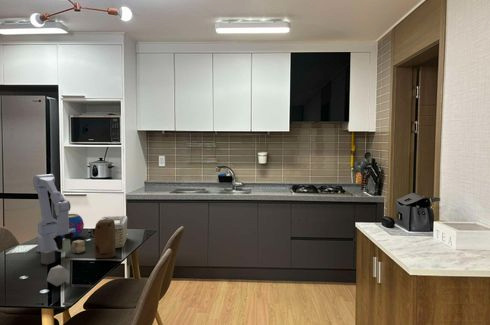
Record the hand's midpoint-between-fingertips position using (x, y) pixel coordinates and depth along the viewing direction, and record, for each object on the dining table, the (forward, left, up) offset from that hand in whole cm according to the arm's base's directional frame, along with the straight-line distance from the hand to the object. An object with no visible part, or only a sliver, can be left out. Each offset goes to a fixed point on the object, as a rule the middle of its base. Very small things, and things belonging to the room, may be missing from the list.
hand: (63, 248), depth 198 cm
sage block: (0, 0, -2) cm, 2 cm away
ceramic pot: (-28, +29, -5) cm, 41 cm away
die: (+29, -29, -5) cm, 41 cm away
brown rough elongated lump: (+21, +8, -5) cm, 23 cm away
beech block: (0, +10, -5) cm, 11 cm away
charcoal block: (0, -10, -5) cm, 11 cm away
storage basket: (+7, +30, -5) cm, 31 cm away
